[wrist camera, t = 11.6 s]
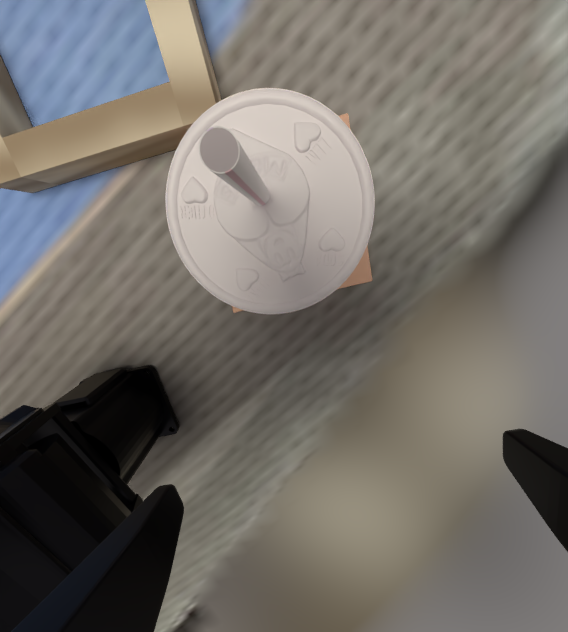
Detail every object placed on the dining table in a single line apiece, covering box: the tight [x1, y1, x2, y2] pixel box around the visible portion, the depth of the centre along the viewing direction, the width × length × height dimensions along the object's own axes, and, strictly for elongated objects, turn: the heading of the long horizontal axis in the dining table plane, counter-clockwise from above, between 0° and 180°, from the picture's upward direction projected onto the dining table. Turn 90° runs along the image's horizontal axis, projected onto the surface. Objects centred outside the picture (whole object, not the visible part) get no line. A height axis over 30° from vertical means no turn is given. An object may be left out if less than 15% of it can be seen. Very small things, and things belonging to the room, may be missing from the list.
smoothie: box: [166, 88, 375, 314], centre depth 10 cm, size 6×6×14 cm
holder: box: [0, 0, 221, 193], centre depth 14 cm, size 14×14×2 cm
